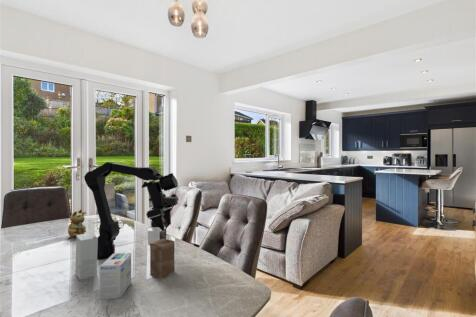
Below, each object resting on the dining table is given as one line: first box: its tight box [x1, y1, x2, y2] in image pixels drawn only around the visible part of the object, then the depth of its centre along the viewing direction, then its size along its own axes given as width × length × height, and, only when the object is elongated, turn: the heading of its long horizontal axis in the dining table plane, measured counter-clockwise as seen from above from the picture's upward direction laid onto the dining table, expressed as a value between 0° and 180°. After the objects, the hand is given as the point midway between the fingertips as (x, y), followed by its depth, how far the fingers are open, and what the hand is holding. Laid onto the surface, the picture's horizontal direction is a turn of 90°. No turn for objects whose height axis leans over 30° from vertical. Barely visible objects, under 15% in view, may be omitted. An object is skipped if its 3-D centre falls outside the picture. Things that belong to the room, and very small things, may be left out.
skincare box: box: [74, 232, 98, 281], centre depth 98 cm, size 8×6×15 cm
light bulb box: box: [99, 252, 132, 300], centre depth 86 cm, size 11×7×11 cm, turn 5°
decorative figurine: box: [67, 209, 87, 238], centre depth 147 cm, size 10×8×15 cm
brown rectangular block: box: [149, 238, 176, 279], centre depth 99 cm, size 6×6×12 cm
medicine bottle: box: [147, 220, 167, 245], centre depth 136 cm, size 7×7×12 cm
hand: (166, 227), depth 115 cm, fingers open, 9 cm apart
